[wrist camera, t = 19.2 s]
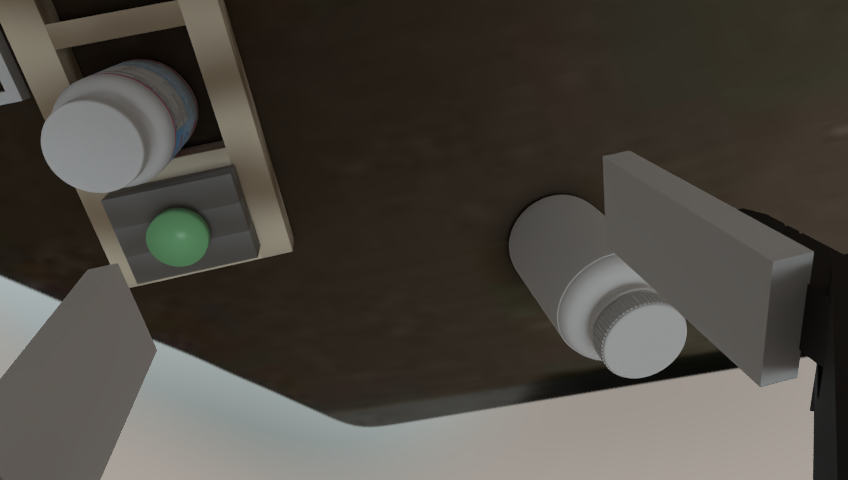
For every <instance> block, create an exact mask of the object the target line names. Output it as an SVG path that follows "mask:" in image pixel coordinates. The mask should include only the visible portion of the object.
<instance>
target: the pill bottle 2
mask: <svg viewBox="0 0 848 480" xmlns="http://www.w3.org/2000/svg"><path fill="white" fill-rule="evenodd" d="M509 254H510V258H511V261H512V263H513V265H514V268H515V269H516V271H517V272H518V274H519V275H520V277H521V278H522V280H523V281H524V283H525V284H526V286H527V287H528V289H529V290H530V292H531V293H532V295H533V296H534V297H535V299H536V300H537V302H538V303H539V305H540V306H541V308H542V309H543V311H544V312H545V314H546V315H547V317H548V318H549V320H550V321H551V322H552V324H553V325H554V327H555V328H556V330H557V331H558V333H559V334H560V336H561V337H562V338H563V340H564V341H565V342H566V343H567V345H568V346H569V347H571V348H572V349H573V350H575V351H576V352H578V353H580V354H581V355H583V356H586V357H588V358H591V359H595V360H602V361H603V363H604V364H605V365H606V367H607V368H608V369H609V370H610V371H611V372H613V373H614V374H616V375H619V376H622V377H626V378H642V377H647V376H650V375H653V374H655V373H657V372H659V371H661V370H663V369H664V368H666V367H667V366H668V365H669V364H671V363H672V362H673V361H674V360H675V359H676V357H677V356H678V355H679V353H680V352H681V350H682V348H683V346H684V344H685V341H686V336H687V325H686V321H685V318H684V316H682V315H681V314H680V313H679V312H678V311H677V310H676V309H675V308H674V307H673V306H672V305H670V304H669V303H668V302H667V301H666V300H665V299H664V298H663V297H662V296H661V295H660V294H659V293H657V292H656V291H655V290H654V289H653V288H652V287H651V286H650V285H649V284H648V283H647V282H645V281H644V280H643V279H642V278H641V277H640V276H639V275H638V274H637V273H636V272H635V271H634V270H632V269H631V268H630V267H629V266H628V265H627V264H626V263H625V262H624V261H623V260H622V259H620V258H619V257H618V256H617V255H616V254H615V253H614V252H613V251H612V250H611V249H610V248H609V247H607V246H606V226H605V216H604V215H603V214H602V213H601V212H600V211H598V210H597V209H596V208H595V207H594V206H592V205H591V204H590V203H588V202H586V201H585V200H583V199H581V198H578V197H575V196H571V195H554V196H549V197H546V198H543V199H541V200H539V201H537V202H535V203H533V204H532V205H531V206H529V207H528V208H527V209H526V210H525V211H524V212H523V213H522V214H521V215H520V216H519V218H518V219H517V221H516V222H515V224H514V226H513V228H512V231H511V234H510V238H509Z"/></svg>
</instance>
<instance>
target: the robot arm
mask: <svg viewBox="0 0 848 480" xmlns="http://www.w3.org/2000/svg"><path fill="white" fill-rule="evenodd" d="M603 174H604V200H605V226H606V246H607V247H609V248H610V249H611V250H612V251H613V252H614V253H615V254H616V255H617V256H618V257H619V258H620V259H622V260H623V261H624V262H625V263H626V264H627V265H628V266H629V267H630V268H631V269H632V270H634V271H635V272H636V273H637V274H638V275H639V276H640V277H641V278H642V279H643V280H644V281H645V282H647V283H648V284H649V285H650V286H651V287H652V288H653V289H654V290H655V291H656V292H657V293H659V294H660V295H661V296H662V297H663V298H664V299H665V300H666V301H667V302H668V303H669V304H670V305H672V306H673V307H674V308H675V309H676V310H677V311H678V312H679V313H680V314H681V315H682V316H684V317H685V318H686V319H687V320H688V321H689V322H690V323H691V324H692V325H693V326H694V327H695V328H697V329H698V330H699V331H700V332H701V333H702V334H703V335H704V336H705V337H706V338H707V339H709V340H710V341H711V342H712V343H713V344H714V345H715V346H716V347H717V348H718V349H719V350H720V351H722V352H723V353H724V354H725V355H726V356H727V357H728V358H729V359H730V360H731V361H732V362H734V363H735V364H736V365H737V366H738V367H739V368H740V369H741V370H743V372H744V373H745V374H747V375H748V376H749V377H750V378H751V379H752V380H753V381H754V382H755V383H756V384H758V385H759V386H760V387H763V386H767V385H770V384H774V383H778V382H782V381H786V380H790V379H794V378H797V375H798V368H799V360H800V353H801V351H802V352H803V353H804V354H805V355H807V356H808V357H809V358H811V359H812V360H813V361H815V362H816V363H817V367H816V374H815V380H814V387H813V393H812V400H811V407H810V411H814V461H813V465H814V466H813V480H848V254H844V255H843V254H841V253H840V252H838V251H836V250H834V249H832V248H830V247H828V246H826V245H824V244H822V243H820V242H818V241H817V240H815V239H813V238H811V237H809V236H807V235H805V234H803V233H802V234H800V233H799V231H797V230H795V229H794V228H792V227H790V226H785V224H784V223H782V222H780V221H778V220H776V219H774V218H772V217H770V216H769V215H767V214H763V213H759V212H755V211H751V210H747V209H743V208H742V209H738V210H737V209H735V208H733V207H731V206H730V205H728V204H726V203H724V202H722V201H720V200H719V199H717V198H715V197H713V196H711V195H709V194H708V193H706V192H704V191H702V190H700V189H699V188H697V187H695V186H693V185H691V184H689V183H688V182H686V181H684V180H682V179H680V178H678V177H677V176H675V175H673V174H671V173H669V172H667V171H666V170H664V169H662V168H660V167H658V166H656V165H655V164H653V163H651V162H649V161H647V160H645V159H644V158H642V157H640V156H638V155H636V154H634V153H633V152H631V151H625V152H621V153H616V154H612V155H607V156H603ZM156 351H157V349H156V347H155V345H154V343H153V340H152V338H151V336H150V334H149V331H148V329H147V327H146V325H145V322H144V320H143V318H142V316H141V314H140V311H139V309H138V307H137V305H136V302H135V300H134V298H133V296H132V293H131V291H130V289H129V287H128V285H127V282H126V280H125V278H124V276H123V273H122V271H121V269H120V267H119V264H118V263H117V264H112V265H108V266H103V267H99V268H94V269H89V270H87V271H86V273H85V274H84V275H83V276H82V278H81V279H80V280H79V281H78V283H77V284H76V285H75V286H74V288H73V289H72V290H71V291H70V293H69V294H68V295H67V296H66V298H65V299H64V300H63V301H62V303H61V304H60V305H59V306H58V308H57V309H56V310H55V311H54V313H53V314H52V315H51V316H50V318H49V319H48V320H47V321H46V323H45V324H44V325H43V326H42V328H41V329H40V330H39V331H38V333H37V334H36V335H35V336H34V338H33V339H32V340H31V341H30V343H29V344H28V345H27V346H26V348H25V349H24V350H23V352H22V353H21V354H20V355H19V357H18V358H17V359H16V360H15V361H14V363H13V364H12V365H11V366H10V368H9V369H8V370H7V371H6V373H5V374H4V375H3V377H2V378H1V379H0V480H100V479H101V477H102V474H103V472H104V470H105V467H106V465H107V462H108V461H109V458H110V456H111V454H112V451H113V449H114V447H115V445H116V442H117V440H118V438H119V435H120V433H121V431H122V429H123V426H124V424H125V422H126V419H127V417H128V415H129V413H130V410H131V408H132V406H133V403H134V401H135V399H136V397H137V394H138V392H139V390H140V387H141V385H142V383H143V380H144V378H145V376H146V374H147V371H148V369H149V367H150V365H151V362H152V360H153V358H154V355H155V353H156Z"/></svg>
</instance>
